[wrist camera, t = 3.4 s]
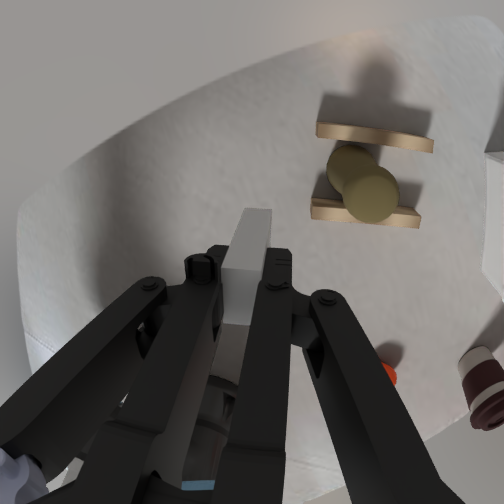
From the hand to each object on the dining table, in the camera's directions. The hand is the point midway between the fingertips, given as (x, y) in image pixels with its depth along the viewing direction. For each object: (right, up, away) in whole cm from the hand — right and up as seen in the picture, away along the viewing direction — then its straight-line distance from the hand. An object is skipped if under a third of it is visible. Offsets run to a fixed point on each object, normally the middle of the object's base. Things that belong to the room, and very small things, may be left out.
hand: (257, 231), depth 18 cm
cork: (+11, +8, +16) cm, 21 cm away
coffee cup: (+41, -21, +28) cm, 54 cm away
